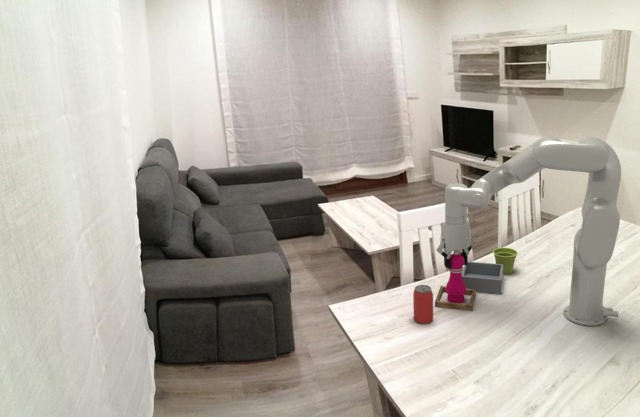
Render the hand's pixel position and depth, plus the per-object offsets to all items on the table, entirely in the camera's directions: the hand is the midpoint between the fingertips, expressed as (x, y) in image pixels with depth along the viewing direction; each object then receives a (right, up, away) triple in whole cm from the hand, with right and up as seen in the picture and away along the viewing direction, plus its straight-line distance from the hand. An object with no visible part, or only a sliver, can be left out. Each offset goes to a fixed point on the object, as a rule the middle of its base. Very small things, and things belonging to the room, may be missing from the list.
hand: (455, 265), depth 174 cm
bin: (+15, -9, +15) cm, 23 cm away
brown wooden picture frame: (+1, -13, +4) cm, 14 cm away
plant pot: (+27, -5, +24) cm, 36 cm away
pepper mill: (+1, -14, +4) cm, 14 cm away
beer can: (-13, -18, -7) cm, 23 cm away
